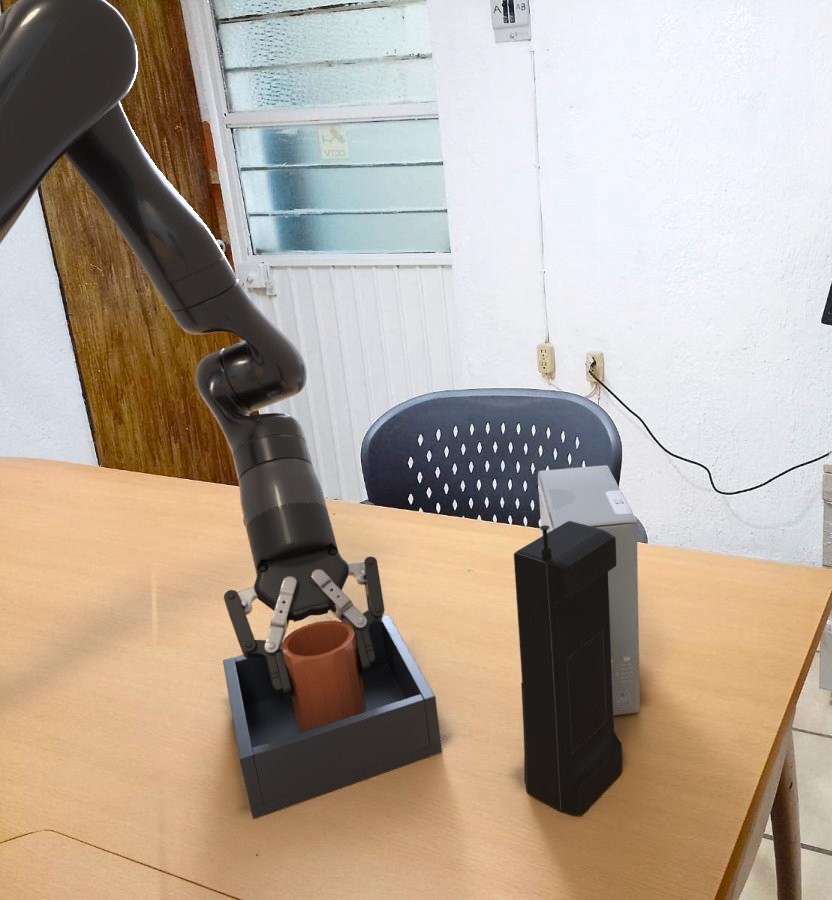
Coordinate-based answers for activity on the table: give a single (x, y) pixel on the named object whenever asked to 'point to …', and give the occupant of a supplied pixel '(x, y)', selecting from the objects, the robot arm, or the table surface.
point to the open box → (330, 728)
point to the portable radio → (567, 666)
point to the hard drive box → (604, 507)
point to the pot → (323, 674)
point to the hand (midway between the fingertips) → (328, 682)
